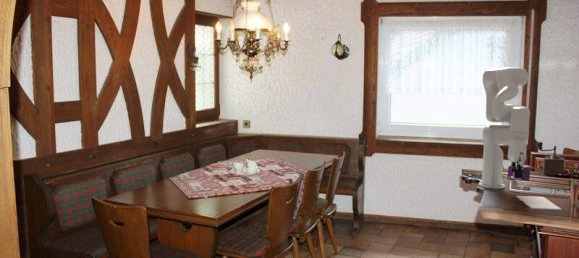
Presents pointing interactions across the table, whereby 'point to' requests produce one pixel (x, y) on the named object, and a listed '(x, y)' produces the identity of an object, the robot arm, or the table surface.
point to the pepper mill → (552, 162)
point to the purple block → (524, 176)
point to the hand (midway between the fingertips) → (516, 176)
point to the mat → (538, 203)
